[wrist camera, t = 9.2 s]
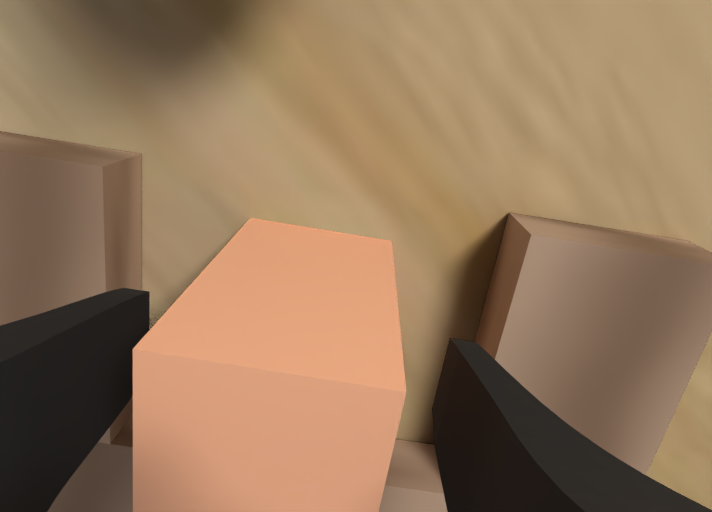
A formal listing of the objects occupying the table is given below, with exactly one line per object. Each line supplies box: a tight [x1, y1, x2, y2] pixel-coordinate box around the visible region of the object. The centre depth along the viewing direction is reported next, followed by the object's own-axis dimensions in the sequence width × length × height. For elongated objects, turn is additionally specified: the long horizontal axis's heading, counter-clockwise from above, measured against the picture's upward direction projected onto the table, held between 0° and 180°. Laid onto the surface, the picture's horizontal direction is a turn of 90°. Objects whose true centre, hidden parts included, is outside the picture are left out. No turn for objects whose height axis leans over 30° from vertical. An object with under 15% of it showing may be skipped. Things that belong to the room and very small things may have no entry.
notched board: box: [0, 131, 712, 512], centre depth 14 cm, size 20×12×2 cm, turn 81°
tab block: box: [133, 218, 406, 512], centre depth 11 cm, size 4×4×7 cm
